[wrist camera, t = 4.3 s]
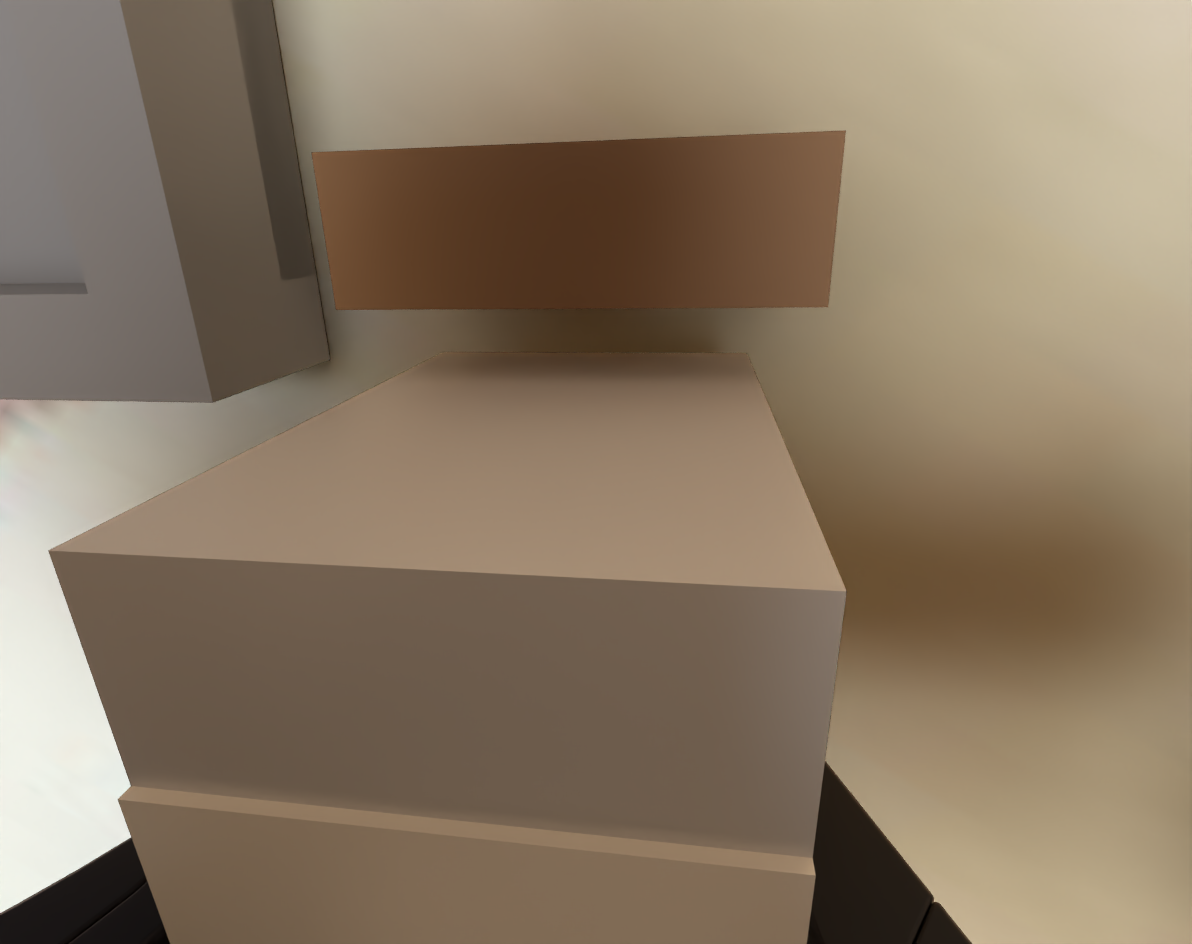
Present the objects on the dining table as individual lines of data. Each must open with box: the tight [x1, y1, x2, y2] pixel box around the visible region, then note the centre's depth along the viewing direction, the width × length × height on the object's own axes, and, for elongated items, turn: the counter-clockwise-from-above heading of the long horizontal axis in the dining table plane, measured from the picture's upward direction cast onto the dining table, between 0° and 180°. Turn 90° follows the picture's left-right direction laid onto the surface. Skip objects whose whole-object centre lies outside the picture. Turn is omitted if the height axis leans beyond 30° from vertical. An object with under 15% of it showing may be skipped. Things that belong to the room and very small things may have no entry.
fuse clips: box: [311, 131, 846, 310], centre depth 10 cm, size 5×14×4 cm, turn 1°
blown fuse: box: [49, 352, 847, 944], centre depth 7 cm, size 4×9×6 cm, turn 1°
